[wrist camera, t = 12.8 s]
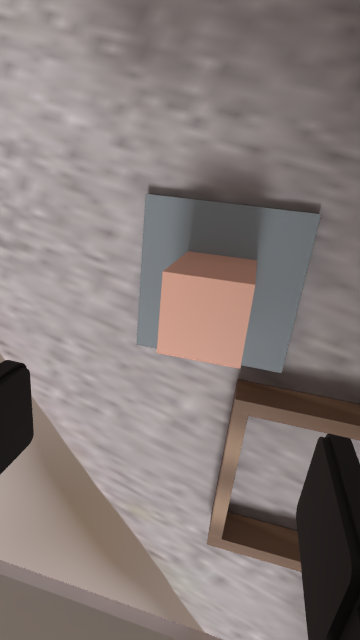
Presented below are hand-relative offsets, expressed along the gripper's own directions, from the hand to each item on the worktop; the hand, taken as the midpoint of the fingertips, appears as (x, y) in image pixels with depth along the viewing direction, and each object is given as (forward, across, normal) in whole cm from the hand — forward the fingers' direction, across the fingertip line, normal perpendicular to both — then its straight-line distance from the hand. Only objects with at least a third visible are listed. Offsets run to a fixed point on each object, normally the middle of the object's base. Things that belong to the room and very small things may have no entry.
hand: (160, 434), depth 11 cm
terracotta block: (+16, 0, -1) cm, 16 cm away
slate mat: (+17, 0, -1) cm, 17 cm away
